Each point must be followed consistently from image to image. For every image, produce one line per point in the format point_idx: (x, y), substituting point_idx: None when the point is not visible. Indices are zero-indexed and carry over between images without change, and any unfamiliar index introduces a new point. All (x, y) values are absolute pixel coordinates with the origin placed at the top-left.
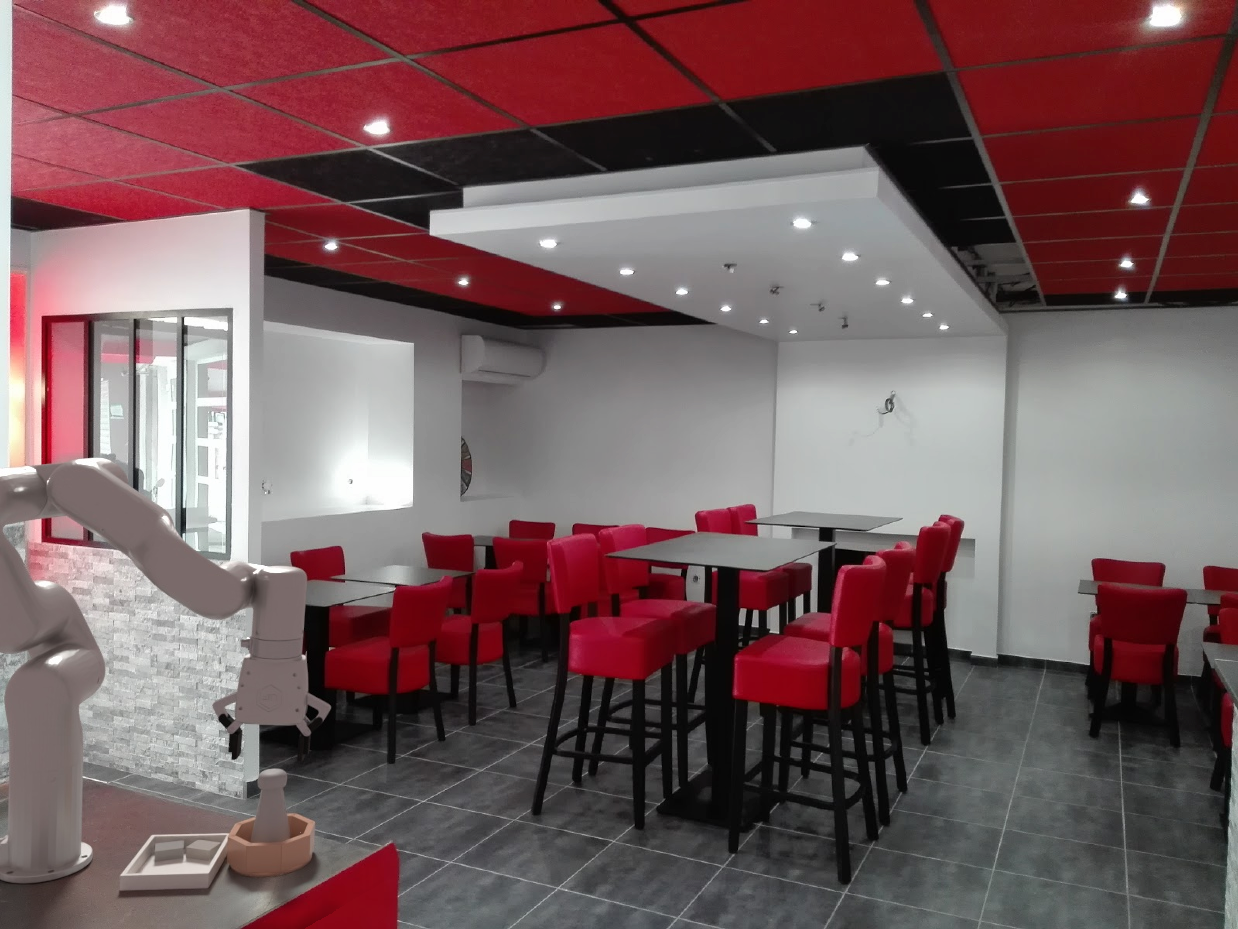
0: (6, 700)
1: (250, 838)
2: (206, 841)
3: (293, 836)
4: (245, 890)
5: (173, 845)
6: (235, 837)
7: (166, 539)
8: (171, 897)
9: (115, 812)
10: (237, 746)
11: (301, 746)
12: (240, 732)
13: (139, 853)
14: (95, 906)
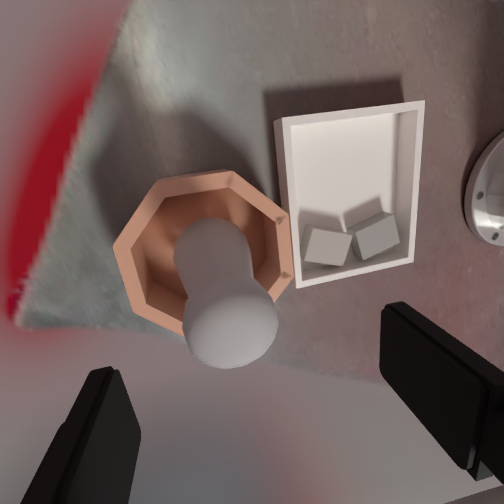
0: None
1: (259, 277)
2: (328, 261)
3: None
4: (204, 117)
5: (373, 239)
6: (271, 212)
7: None
8: (322, 83)
9: None
10: (423, 345)
11: (63, 437)
12: (469, 436)
13: (415, 192)
14: (425, 46)
